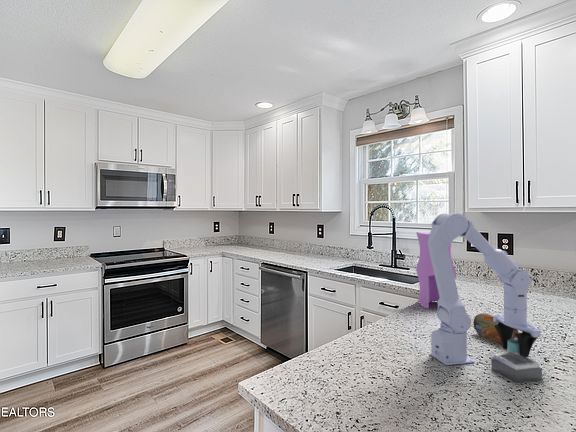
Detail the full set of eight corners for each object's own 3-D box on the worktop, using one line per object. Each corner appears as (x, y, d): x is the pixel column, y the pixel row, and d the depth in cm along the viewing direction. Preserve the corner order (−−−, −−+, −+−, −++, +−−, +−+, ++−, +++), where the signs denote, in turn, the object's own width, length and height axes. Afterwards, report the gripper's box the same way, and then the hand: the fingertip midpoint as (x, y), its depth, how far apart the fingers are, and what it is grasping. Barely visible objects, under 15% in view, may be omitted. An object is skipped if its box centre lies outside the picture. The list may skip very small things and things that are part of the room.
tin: (472, 333, 120) (472, 310, 120) (479, 332, 121) (478, 309, 121) (513, 349, 106) (513, 323, 106) (520, 347, 107) (520, 322, 107)
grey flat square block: (516, 382, 84) (516, 366, 84) (491, 368, 92) (491, 353, 92) (542, 379, 86) (541, 364, 86) (515, 366, 94) (515, 351, 94)
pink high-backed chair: (444, 301, 164) (444, 232, 163) (456, 309, 150) (455, 233, 150) (416, 301, 165) (416, 232, 165) (425, 308, 151) (424, 233, 151)
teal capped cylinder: (515, 362, 96) (515, 342, 96) (504, 356, 100) (504, 337, 100) (527, 361, 97) (526, 341, 97) (515, 355, 101) (515, 336, 101)
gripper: (549, 314, 92) (549, 362, 92) (506, 300, 106) (506, 342, 106) (528, 315, 91) (528, 364, 91) (487, 302, 105) (487, 344, 105)
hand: (515, 352), depth 98 cm, fingers open, 5 cm apart
